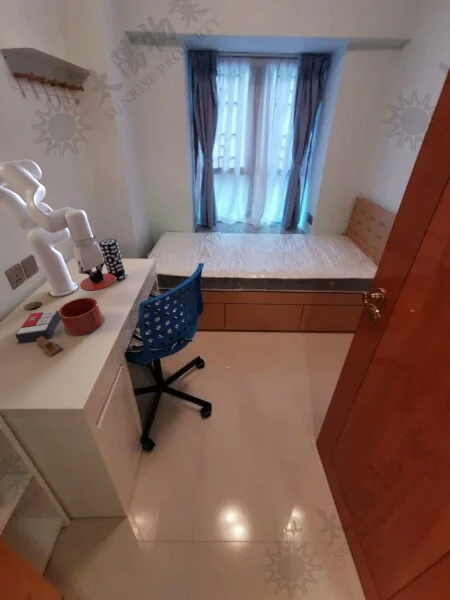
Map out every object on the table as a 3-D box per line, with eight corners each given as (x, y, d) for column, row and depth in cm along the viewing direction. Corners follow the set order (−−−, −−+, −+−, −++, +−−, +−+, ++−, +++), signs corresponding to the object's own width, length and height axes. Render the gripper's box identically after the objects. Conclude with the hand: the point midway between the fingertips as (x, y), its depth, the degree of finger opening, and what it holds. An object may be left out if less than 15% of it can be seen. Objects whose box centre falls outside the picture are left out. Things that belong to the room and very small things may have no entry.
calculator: (57, 308, 119) (45, 329, 106) (61, 317, 121) (49, 338, 109) (29, 312, 118) (13, 333, 105) (34, 321, 120) (18, 342, 107)
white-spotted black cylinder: (112, 274, 152) (101, 239, 141) (127, 273, 152) (118, 238, 141) (108, 282, 145) (96, 245, 134) (124, 280, 145) (114, 244, 134)
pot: (59, 328, 114) (51, 311, 109) (89, 310, 124) (83, 294, 119) (79, 339, 107) (72, 322, 103) (109, 320, 117) (104, 303, 112)
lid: (73, 287, 124) (69, 275, 121) (102, 272, 134) (98, 262, 131) (94, 295, 117) (90, 283, 113) (123, 280, 127) (120, 268, 124)
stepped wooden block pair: (37, 346, 105) (33, 340, 104) (46, 340, 108) (44, 334, 106) (51, 355, 100) (48, 350, 99) (61, 349, 103) (58, 343, 102)
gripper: (95, 233, 122) (107, 271, 132) (60, 246, 111) (76, 287, 121) (106, 236, 118) (118, 275, 128) (71, 250, 107) (86, 291, 117)
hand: (97, 280), depth 124 cm, fingers closed on lid, 2 cm apart
